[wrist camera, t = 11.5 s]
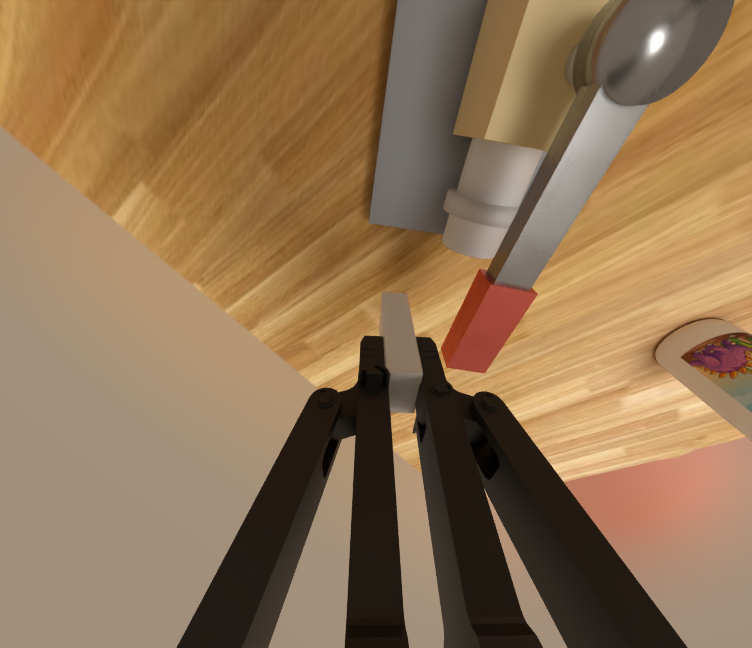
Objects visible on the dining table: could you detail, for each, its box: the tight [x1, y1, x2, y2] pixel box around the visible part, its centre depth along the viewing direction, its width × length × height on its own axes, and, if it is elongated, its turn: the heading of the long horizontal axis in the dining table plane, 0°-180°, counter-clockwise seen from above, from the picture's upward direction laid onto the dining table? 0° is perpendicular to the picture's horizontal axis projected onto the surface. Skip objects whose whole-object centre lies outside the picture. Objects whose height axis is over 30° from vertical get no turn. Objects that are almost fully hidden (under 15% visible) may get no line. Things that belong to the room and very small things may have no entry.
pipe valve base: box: [369, 0, 609, 259], centre depth 14 cm, size 20×16×11 cm
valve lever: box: [441, 0, 734, 373], centre depth 13 cm, size 17×3×2 cm, turn 168°
